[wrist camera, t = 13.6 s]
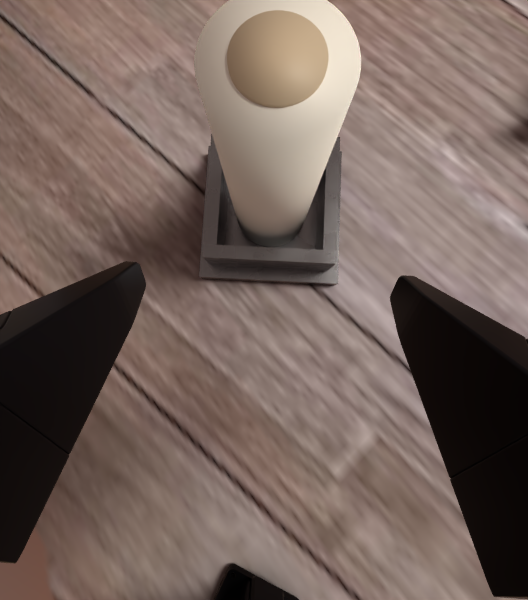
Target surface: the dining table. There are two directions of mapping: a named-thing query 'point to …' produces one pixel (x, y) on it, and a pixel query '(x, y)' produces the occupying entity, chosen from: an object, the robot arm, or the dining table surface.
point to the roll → (275, 104)
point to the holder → (280, 259)
